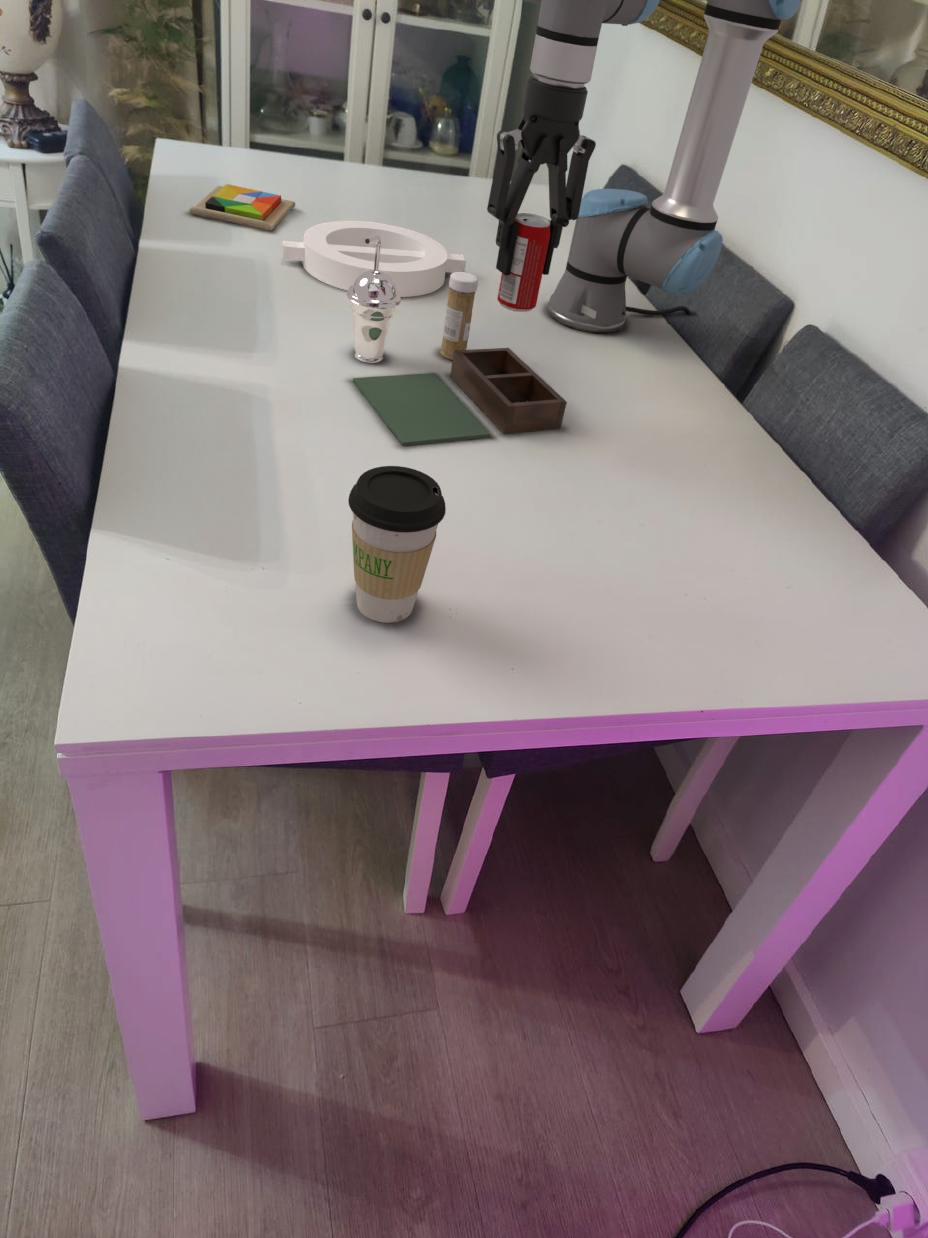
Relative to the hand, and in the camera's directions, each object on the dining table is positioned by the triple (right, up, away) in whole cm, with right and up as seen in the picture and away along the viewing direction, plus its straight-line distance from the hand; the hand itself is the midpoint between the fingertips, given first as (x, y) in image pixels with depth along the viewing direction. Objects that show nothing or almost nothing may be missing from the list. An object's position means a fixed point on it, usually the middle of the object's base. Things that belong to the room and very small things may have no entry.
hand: (522, 270), depth 125 cm
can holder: (-2, -14, +17) cm, 22 cm away
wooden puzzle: (-55, +39, +69) cm, 96 cm away
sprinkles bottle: (-10, -4, +28) cm, 30 cm away
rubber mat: (-15, -16, +11) cm, 25 cm away
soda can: (-1, -4, +3) cm, 5 cm away
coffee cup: (-17, -47, -25) cm, 56 cm away
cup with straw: (-24, -6, +23) cm, 33 cm away
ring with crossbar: (-26, +21, +54) cm, 64 cm away
